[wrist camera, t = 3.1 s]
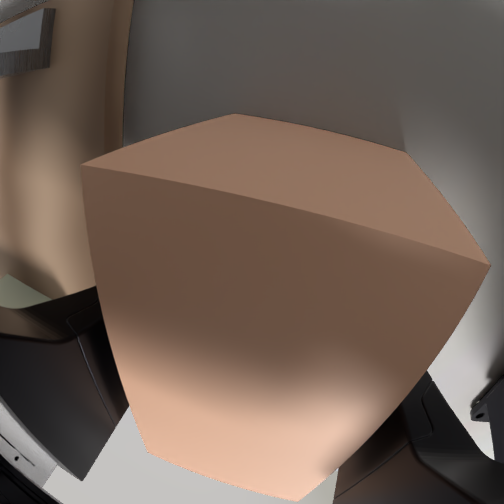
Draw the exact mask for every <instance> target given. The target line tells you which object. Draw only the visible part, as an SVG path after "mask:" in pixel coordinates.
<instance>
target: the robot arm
mask: <svg viewBox="0 0 504 504" xmlns="http://www.w3.org/2000/svg"><path fill="white" fill-rule="evenodd" d="M128 407H129V403H128V400H127V397H126V394H125V391H124V388H123V385H122V382H121V379H120V376H119V372H118V369H117V366H116V363H115V359H114V356H113V352H112V349H111V345H110V341H109V338H108V334H107V330H106V326H105V322H104V318H103V314H102V310H101V305H100V301H99V296H98V291H97V287H96V286H93V287H90V288H88V289H85V290H82V291H79V292H76V293H73V294H70V295H66V296H63V297H60V298H56V299H53V300H49V301H46V302H42V303H39V304H35V305H32V306H28V307H24V308H6V307H2V306H0V504H63V503H61V502H60V501H59V500H57V499H56V498H54V497H53V496H52V495H50V494H49V493H48V492H47V491H45V490H44V489H43V488H42V487H43V485H44V484H45V482H46V481H47V480H48V478H49V477H50V475H51V473H52V472H53V471H54V469H55V467H56V466H57V465H58V466H60V467H61V468H62V469H64V470H65V471H67V472H69V473H70V474H71V475H73V476H74V477H76V478H77V479H79V480H80V481H83V480H84V478H85V477H86V475H87V473H88V472H89V470H90V468H91V467H92V465H93V464H94V462H95V460H96V459H97V457H98V455H99V454H100V452H101V451H102V449H103V447H104V446H105V444H106V442H107V441H108V439H109V438H110V436H111V434H112V433H113V431H114V429H115V427H116V426H117V424H118V423H119V421H120V420H121V418H122V416H123V415H124V413H125V412H126V410H127V408H128ZM470 415H471V420H472V421H480V422H489V423H490V429H491V435H492V442H493V450H494V459H495V460H493V459H491V458H489V457H488V456H486V455H485V454H484V453H483V452H482V451H481V450H480V449H479V447H478V446H477V445H476V443H475V442H474V440H473V439H472V437H471V436H470V435H469V433H468V432H467V430H466V429H465V428H464V426H463V425H462V423H461V422H460V420H459V419H458V418H457V416H456V415H455V413H454V412H453V410H452V409H451V408H450V406H449V405H448V403H447V402H446V400H445V398H444V397H443V395H442V394H441V392H440V391H439V389H438V387H437V386H436V384H435V382H434V381H432V378H431V376H430V374H429V373H428V371H427V370H426V372H425V373H424V374H423V376H422V377H421V378H420V380H419V381H418V382H417V383H416V385H415V386H414V387H413V389H412V390H411V391H410V392H409V394H408V395H407V396H406V397H405V398H404V400H403V401H402V402H401V403H400V404H399V406H398V407H397V408H396V409H395V410H394V411H393V412H392V414H391V415H390V416H389V417H388V418H387V419H386V420H385V421H384V423H383V424H382V425H381V426H380V427H379V428H378V429H377V430H376V431H375V432H374V433H373V434H372V435H371V436H370V437H369V439H368V440H367V441H366V442H365V443H364V444H363V445H362V446H361V447H360V448H359V449H358V450H357V451H356V452H355V453H354V454H352V455H351V456H350V457H349V458H348V459H347V460H346V461H345V462H344V463H343V464H342V465H341V466H340V467H339V469H338V476H337V482H336V488H335V494H334V500H333V504H504V375H503V376H502V377H501V378H500V379H499V381H498V382H497V383H496V384H495V385H494V386H493V387H492V388H491V390H490V391H489V392H488V393H487V394H486V395H485V396H484V397H483V398H482V399H481V400H480V401H479V402H478V403H477V404H476V405H475V406H474V407H473V408H472V410H471V411H470Z"/></svg>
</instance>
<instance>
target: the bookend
mask: <svg viewBox="0 0 504 504" xmlns="http://www.w3.org/2000/svg"><path fill="white" fill-rule="evenodd" d="M55 12H56V9H55V8H43V9H40V10H38V11H36V12H33V13H31V14H29V15H26V16H24V17H22V18H20V19H18V20H16V21H14V22H11V23H9V24H7V25H5V26H3V27H1V28H0V79H3V78H6V77H10V76H14V75H18V74H22V73H27V72H31V71H36V70H40V69H45V68H50V57H51V45H52V35H53V26H54V19H55Z"/></svg>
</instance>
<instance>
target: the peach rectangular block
mask: <svg viewBox="0 0 504 504" xmlns="http://www.w3.org/2000/svg"><path fill="white" fill-rule="evenodd" d="M80 167H81V181H82V193H83V203H84V212H85V220H86V228H87V235H88V242H89V248H90V254H91V260H92V266H93V271H94V277H95V282H96V287H97V291H98V296H99V301H100V305H101V310H102V314H103V318H104V322H105V326H106V330H107V334H108V338H109V341H110V345H111V349H112V352H113V356H114V359H115V363H116V366H117V369H118V372H119V376H120V379H121V382H122V385H123V388H124V391H125V394H126V397H127V400H128V403H129V405H130V408H131V411H132V414H133V416H134V419H135V421H136V424H137V427H138V429H139V432H140V434H141V437H142V439H143V441H144V444H145V447H146V449H147V451H148V453H150V454H152V455H154V456H157V457H159V458H161V459H163V460H166V461H168V462H170V463H173V464H175V465H177V466H180V467H182V468H185V469H187V470H190V471H192V472H195V473H198V474H200V475H203V476H206V477H209V478H212V479H215V480H217V481H220V482H223V483H227V484H230V485H233V486H237V487H240V488H243V489H246V490H250V491H254V492H257V493H261V494H265V495H269V496H273V497H277V498H282V499H286V500H291V501H296V502H298V501H299V500H301V499H302V498H303V497H304V496H306V495H307V494H308V493H309V492H311V491H312V490H313V489H314V488H315V487H317V486H318V485H319V484H320V483H321V482H323V481H324V480H325V479H326V478H327V477H329V476H330V475H331V474H332V473H333V472H334V471H335V470H336V469H338V468H339V467H340V466H341V465H342V464H343V463H344V462H345V461H346V460H347V459H348V458H349V457H350V456H351V455H352V454H354V453H355V452H356V451H357V450H358V449H359V448H360V447H361V446H362V445H363V444H364V443H365V442H366V441H367V440H368V439H369V437H370V436H371V435H372V434H373V433H374V432H375V431H376V430H377V429H378V428H379V427H380V426H381V425H382V424H383V423H384V421H385V420H386V419H387V418H388V417H389V416H390V415H391V414H392V412H393V411H394V410H395V409H396V408H397V407H398V406H399V404H400V403H401V402H402V401H403V400H404V398H405V397H406V396H407V395H408V394H409V392H410V391H411V390H412V389H413V387H414V386H415V385H416V383H417V382H418V381H419V380H420V378H421V377H422V376H423V374H424V373H425V372H426V370H427V369H428V368H429V366H430V365H431V364H432V362H433V361H434V359H435V358H436V357H437V355H438V354H439V352H440V351H441V350H442V348H443V347H444V345H445V344H446V342H447V341H448V339H449V338H450V336H451V335H452V333H453V332H454V330H455V328H456V327H457V325H458V324H459V322H460V320H461V319H462V317H463V316H464V314H465V312H466V311H467V309H468V307H469V305H470V304H471V302H472V300H473V299H474V297H475V295H476V293H477V291H478V290H479V288H480V286H481V284H482V282H483V280H484V278H485V276H486V275H487V273H488V271H489V269H490V267H491V264H490V263H489V261H488V260H487V258H486V256H485V255H484V253H483V252H482V250H481V249H480V247H479V246H478V244H477V242H476V241H475V239H474V238H473V237H472V235H471V234H470V232H469V231H468V229H467V228H466V226H465V225H464V224H463V222H462V221H461V219H460V218H459V217H458V215H457V214H456V212H455V211H454V210H453V208H452V207H451V206H450V204H449V203H448V202H447V200H446V199H445V198H444V197H443V195H442V194H441V193H440V191H439V190H438V189H437V188H436V186H435V185H434V184H433V183H432V182H431V180H430V179H429V178H428V177H427V176H426V174H425V173H424V172H423V171H422V170H421V168H420V167H419V166H418V165H417V164H416V163H415V161H414V160H413V159H412V158H411V157H410V156H409V155H408V154H407V153H406V152H403V151H400V150H396V149H393V148H390V147H387V146H383V145H380V144H376V143H373V142H369V141H366V140H362V139H358V138H355V137H351V136H347V135H343V134H339V133H335V132H331V131H326V130H322V129H318V128H313V127H308V126H304V125H299V124H294V123H289V122H284V121H278V120H273V119H267V118H261V117H255V116H249V115H242V114H235V113H234V114H229V115H226V116H222V117H218V118H214V119H210V120H207V121H203V122H200V123H196V124H193V125H189V126H186V127H182V128H179V129H176V130H173V131H170V132H166V133H163V134H160V135H157V136H154V137H151V138H148V139H145V140H143V141H140V142H137V143H134V144H131V145H129V146H126V147H123V148H120V149H118V150H115V151H113V152H110V153H107V154H105V155H102V156H100V157H97V158H95V159H93V160H90V161H88V162H85V163H83V164H81V165H80Z"/></svg>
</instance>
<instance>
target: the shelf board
mask: <svg viewBox="0 0 504 504" xmlns="http://www.w3.org/2000/svg"><path fill="white" fill-rule="evenodd" d="M133 3H134V0H49V1H46V2H44V3H42V4H39V5H37V6H35V7H32V8H30V9H28V10H26V11H24V12H22V13H20V14H18V15H16V16H13V17H12V18H10V19H8V20H6V21H4V22H2V23H0V28H1V27H3V26H5V25H7V24H9V23H11V22H14V21H16V20H18V19H20V18H22V17H24V16H26V15H29V14H31V13H33V12H36V11H38V10H40V9H43V8H55V9H56V12H55V19H54V26H53V35H52V45H51V57H50V68H45V69H40V70H36V71H31V72H27V73H22V74H18V75H14V76H10V77H6V78H3V79H0V279H1V278H3V277H4V276H5V275H6V274H9V275H11V276H12V277H14V278H16V279H17V280H19V281H21V282H22V283H24V284H26V285H27V286H29V287H31V288H32V289H34V290H36V291H38V292H40V293H41V294H43V295H45V296H47V297H49V298H50V299H52V300H53V299H56V298H60V297H63V296H66V295H70V294H73V293H76V292H79V291H82V290H85V289H88V288H90V287H93V286H96V282H95V277H94V271H93V266H92V260H91V254H90V248H89V242H88V235H87V228H86V220H85V212H84V203H83V193H82V181H81V167H80V165H81V164H83V163H85V162H88V161H90V160H93V159H95V158H97V157H100V156H102V155H105V154H107V153H110V152H113V151H115V150H118V149H120V148H123V105H124V86H125V72H126V60H127V49H128V40H129V31H130V24H131V16H132V9H133Z"/></svg>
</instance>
